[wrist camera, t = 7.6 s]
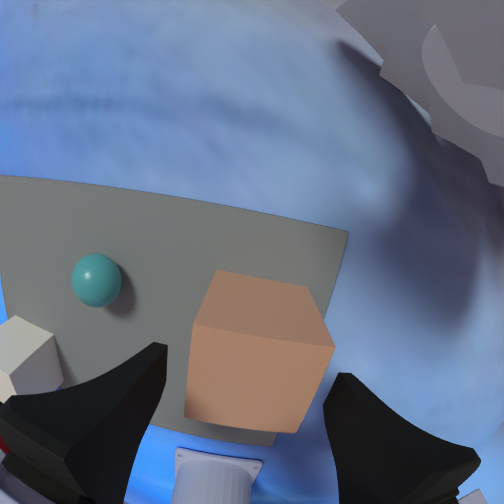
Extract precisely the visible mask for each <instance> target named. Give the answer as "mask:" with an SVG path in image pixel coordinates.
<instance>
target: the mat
mask: <svg viewBox="0 0 504 504" xmlns="http://www.w3.org/2000/svg"><path fill="white" fill-rule="evenodd" d="M348 234H349V233H348V232H347V231H343V230H339V229H335V228H331V227H326V226H322V225H318V224H313V223H309V222H304V221H300V220H295V219H291V218H286V217H281V216H277V215H272V214H267V213H262V212H257V211H252V210H247V209H242V208H237V207H232V206H226V205H221V204H216V203H210V202H205V201H199V200H193V199H187V198H182V197H176V196H170V195H163V194H157V193H151V192H144V191H138V190H131V189H124V188H117V187H110V186H102V185H95V184H87V183H78V182H70V181H61V180H52V179H42V178H31V177H20V176H8V175H0V275H1V283H2V290H3V296H4V302H5V308H6V313H7V318H8V320H9V319H10V318H12V317H13V316H15V315H16V316H18V317H20V318H22V319H24V320H26V321H27V322H29V323H31V324H33V325H35V326H37V327H39V328H41V329H44V330H46V331H48V332H50V333H52V334H54V338H55V344H56V349H57V353H58V358H59V362H60V367H61V371H62V375H63V378H64V381H63V382H62V383H61V385H60V386H59V387H58V388H60V389H65V388H68V387H71V386H75V385H78V384H81V383H84V382H86V381H89V380H91V379H94V378H96V377H98V376H100V375H102V374H104V373H106V372H108V371H109V370H111V369H113V368H115V367H117V366H118V365H120V364H122V363H123V362H125V361H126V360H128V359H129V358H131V357H132V356H134V355H135V354H137V353H138V352H140V351H141V350H142V349H144V348H145V347H147V346H148V345H149V344H151V343H152V342H158V343H162V344H166V345H168V357H167V381H166V384H165V388H164V391H163V394H162V397H161V400H160V402H159V404H158V406H157V408H156V411H155V413H154V415H153V417H152V419H151V421H150V423H149V424H151V425H155V426H158V427H162V428H165V429H169V430H173V431H177V432H181V433H185V434H190V435H194V436H199V437H204V438H209V439H215V440H221V441H227V442H233V443H241V444H249V445H258V446H269V447H272V445H273V443H274V441H275V439H276V437H277V435H278V432H271V431H261V430H252V429H245V428H237V427H231V426H225V425H219V424H213V423H208V422H203V421H198V420H194V419H189V418H185V417H184V409H185V396H186V385H187V374H188V364H189V355H190V346H191V337H192V329H193V323H194V320H195V318H196V316H197V313H198V311H199V309H200V306H201V304H202V302H203V300H204V297H205V295H206V293H207V290H208V288H209V286H210V284H211V281H212V279H213V277H214V275H215V272H216V270H221V271H226V272H231V273H236V274H242V275H247V276H252V277H257V278H262V279H267V280H273V281H278V282H283V283H289V284H294V285H300V286H305V287H308V289H309V291H310V293H311V295H312V298H313V300H314V302H315V304H316V306H317V308H318V310H319V312H320V314H321V317H322V319H324V316H325V313H326V310H327V307H328V304H329V301H330V297H331V294H332V291H333V288H334V284H335V281H336V278H337V274H338V271H339V267H340V264H341V260H342V256H343V253H344V249H345V245H346V241H347V237H348ZM93 253H98V254H103V255H105V256H107V257H109V258H111V259H112V260H113V261H114V262H115V264H116V265H117V267H118V269H119V271H120V274H121V289H120V292H119V294H118V296H117V297H116V299H115V300H114V301H113V302H112V303H110V304H109V305H107V306H104V307H99V308H96V307H90V306H88V305H86V304H84V303H83V302H81V301H80V300H79V299H78V298H77V296H76V295H75V293H74V291H73V288H72V282H71V277H72V272H73V269H74V267H75V265H76V263H77V262H78V261H79V260H80V259H81V258H82V257H84V256H86V255H89V254H93Z"/></svg>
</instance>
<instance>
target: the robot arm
mask: <svg viewBox="0 0 504 504" xmlns="http://www.w3.org/2000/svg"><path fill="white" fill-rule="evenodd" d="M167 357H168V345H166V344H162V343H158V342H152V343H151V344H149V345H148V346H147V347H145V348H144V349H142V350H141V351H140V352H138V353H137V354H135V355H134V356H132V357H131V358H129V359H128V360H126V361H125V362H123V363H122V364H120V365H118V366H117V367H115V368H113V369H111V370H109V371H108V372H106V373H104V374H102V375H100V376H98V377H96V378H94V379H91V380H89V381H86V382H84V383H81V384H78V385H75V386H71V387H68V388H65V389H61V390H56V391H52V392H46V393H39V394H28V395H11V396H10V397H9V398H8V399H7V400H6V401H5V403H4V404H3V405H2V406H1V407H0V436H1V437H2V439H3V440H4V442H5V443H6V445H7V446H8V448H9V449H10V452H9V453H8V455H6V454H5V453H4V452H3V451H2V450H1V449H0V504H123V501H124V497H125V493H126V489H127V485H128V481H129V477H130V474H131V470H132V467H133V463H134V460H135V457H136V454H137V451H138V448H139V445H140V442H141V440H142V438H143V436H144V433H145V431H146V429H147V427H148V425H149V423H150V421H151V419H152V417H153V415H154V413H155V411H156V408H157V406H158V404H159V402H160V400H161V397H162V394H163V391H164V388H165V384H166V381H167ZM323 410H324V420H325V426H326V430H327V434H328V438H329V442H330V445H331V449H332V453H333V457H334V461H335V465H336V470H337V479H338V490H339V504H487V502H486V500H485V498H484V496H483V494H482V493H481V491H480V489H476V490H475V491H473V492H471V493H469V494H467V495H466V496H464V497H462V498H461V499H459V500H457V498H456V496H457V495H458V494H459V490H458V487H459V486H460V485H461V484H462V483H463V482H464V481H465V480H466V479H468V478H469V477H470V476H471V475H472V473H474V472H475V471H476V469H477V468H478V467H479V465H480V463H481V459H480V458H479V456H478V455H477V453H476V451H475V450H474V449H473V448H470V447H465V446H461V445H457V444H454V443H451V442H448V441H445V440H443V439H440V438H438V437H435V436H433V435H431V434H429V433H427V432H425V431H423V430H421V429H420V428H418V427H416V426H414V425H413V424H411V423H410V422H408V421H407V420H405V419H404V418H402V417H401V416H400V415H398V414H397V413H396V412H395V411H393V410H392V409H391V408H389V407H388V406H387V405H386V404H385V403H384V402H382V401H381V400H380V399H379V398H378V397H377V396H376V395H375V394H374V393H373V392H372V391H370V390H369V389H368V388H367V387H366V386H365V385H364V384H363V383H362V382H361V381H360V380H359V379H358V378H356V377H355V376H354V375H353V374H352V373H341V372H339V373H338V375H337V377H336V379H335V382H334V384H333V386H332V388H331V390H330V392H329V394H328V396H327V398H326V400H325V402H324V404H323ZM261 467H262V461H259V460H250V459H241V458H233V457H226V456H220V455H214V454H208V453H203V452H198V451H193V450H188V449H184V448H176V449H175V486H174V490H173V494H172V499H171V503H170V504H251V486H252V484H253V482H254V480H255V479H256V477H257V475H258V473H259V471H260V469H261Z"/></svg>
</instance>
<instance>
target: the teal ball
mask: <svg viewBox="0 0 504 504" xmlns="http://www.w3.org/2000/svg"><path fill="white" fill-rule="evenodd" d="M71 282H72V288H73V291H74V293H75V295H76V296H77V298H78V299H79V300H80V301H81V302H83V303H84V304H86V305H88V306H90V307H96V308H99V307H104V306H107V305H109V304H110V303H112V302H113V301H114V300H115V299H116V297H117V296H118V294H119V292H120V289H121V274H120V271H119V269H118V267H117V265H116V264H115V262H114V261H113V260H112V259H111V258H109V257H107V256H105V255H103V254H98V253H93V254H89V255H86V256H84V257H82V258H81V259H80V260H79V261H78V262H77V263H76V265H75V267H74V269H73V272H72V277H71Z"/></svg>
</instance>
